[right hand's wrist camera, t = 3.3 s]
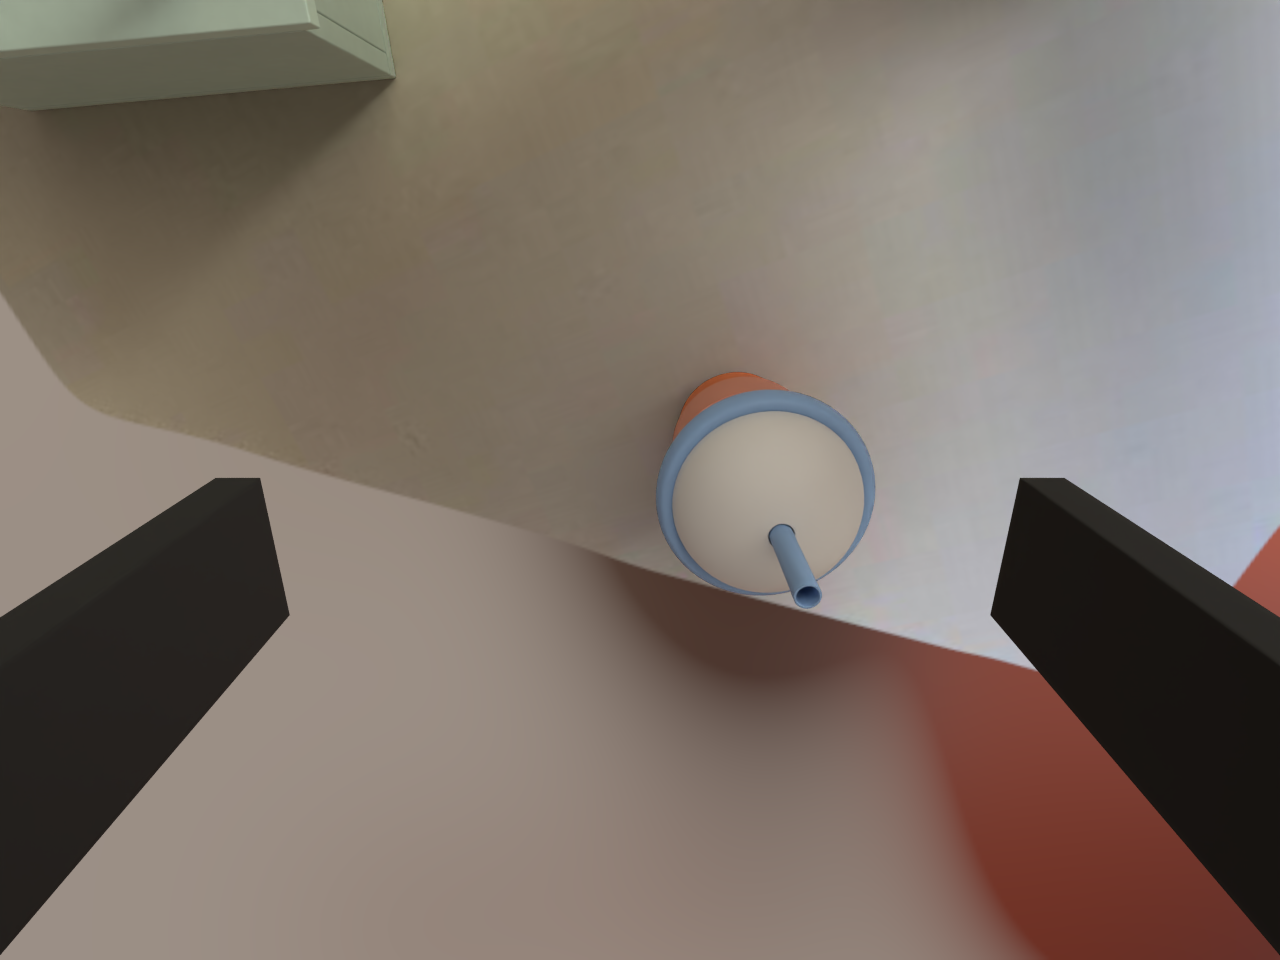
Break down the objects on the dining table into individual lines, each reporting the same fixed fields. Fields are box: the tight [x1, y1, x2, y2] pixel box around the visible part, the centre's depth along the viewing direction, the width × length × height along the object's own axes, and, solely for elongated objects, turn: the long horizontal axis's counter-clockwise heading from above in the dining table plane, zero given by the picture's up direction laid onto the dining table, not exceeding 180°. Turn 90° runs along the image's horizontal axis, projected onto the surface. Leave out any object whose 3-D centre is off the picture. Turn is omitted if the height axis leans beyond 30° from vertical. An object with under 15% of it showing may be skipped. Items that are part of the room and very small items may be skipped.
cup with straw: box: [656, 372, 875, 609], centre depth 30 cm, size 9×9×18 cm
